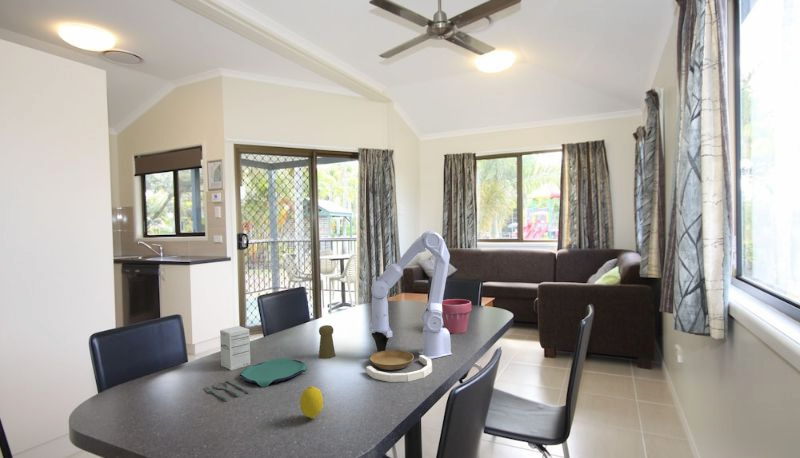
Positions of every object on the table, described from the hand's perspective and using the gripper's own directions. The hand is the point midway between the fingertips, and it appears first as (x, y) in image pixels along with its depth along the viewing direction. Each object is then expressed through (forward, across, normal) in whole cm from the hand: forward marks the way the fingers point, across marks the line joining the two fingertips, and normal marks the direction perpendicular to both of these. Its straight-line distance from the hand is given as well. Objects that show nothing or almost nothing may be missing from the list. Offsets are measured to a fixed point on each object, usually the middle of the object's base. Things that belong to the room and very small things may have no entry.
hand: (381, 353), depth 144 cm
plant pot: (+2, -14, +42) cm, 44 cm away
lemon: (+2, +32, -34) cm, 46 cm away
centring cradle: (+2, +17, 0) cm, 17 cm away
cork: (+2, -12, -16) cm, 20 cm away
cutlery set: (+2, -3, -41) cm, 41 cm away
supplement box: (+2, -20, -46) cm, 50 cm away
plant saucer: (+2, +8, 0) cm, 9 cm away
